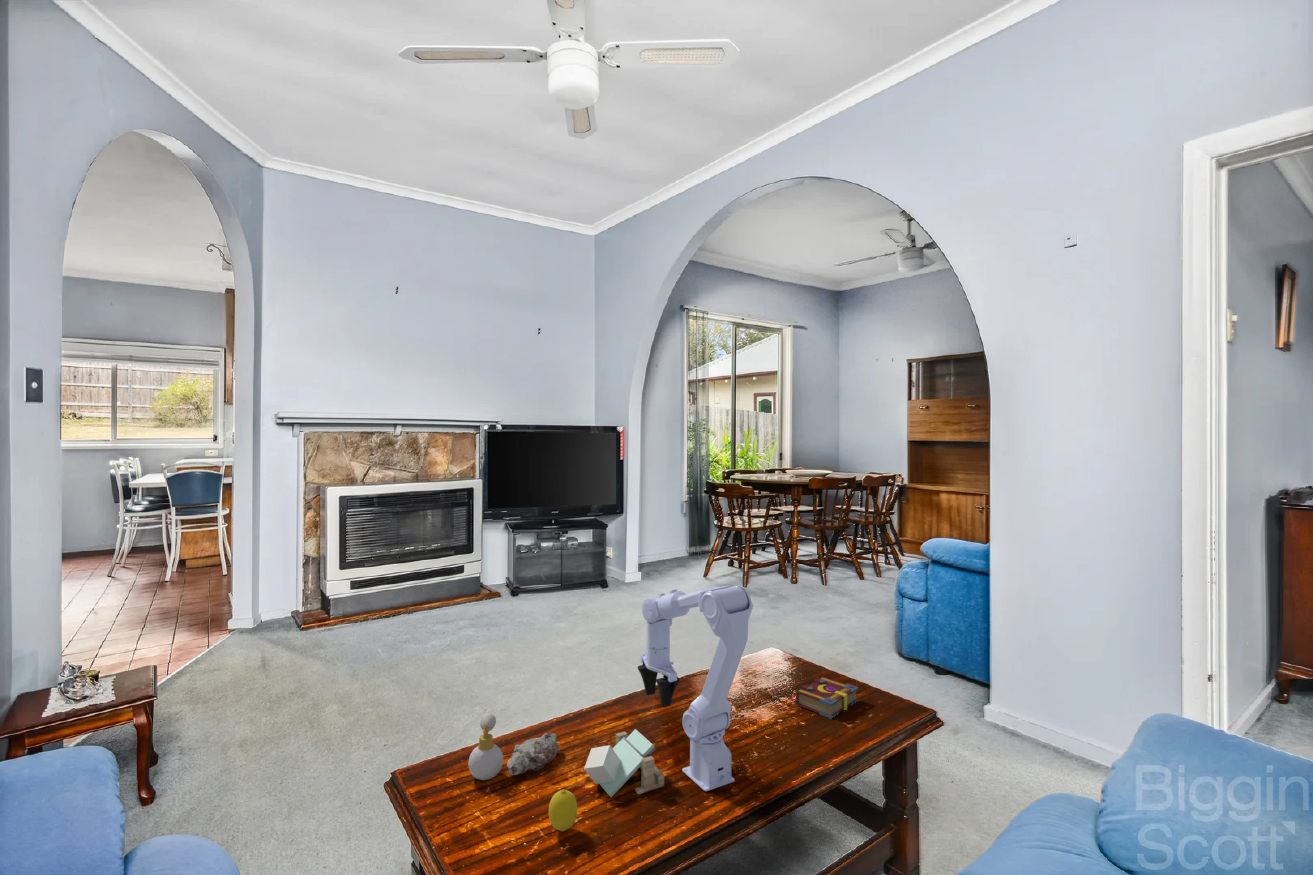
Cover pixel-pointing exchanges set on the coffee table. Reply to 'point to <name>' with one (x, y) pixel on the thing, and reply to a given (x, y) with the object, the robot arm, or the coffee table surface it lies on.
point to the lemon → (563, 810)
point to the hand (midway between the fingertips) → (658, 699)
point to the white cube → (602, 764)
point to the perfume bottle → (486, 752)
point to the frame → (646, 771)
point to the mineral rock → (533, 754)
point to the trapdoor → (628, 759)
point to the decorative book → (827, 697)
